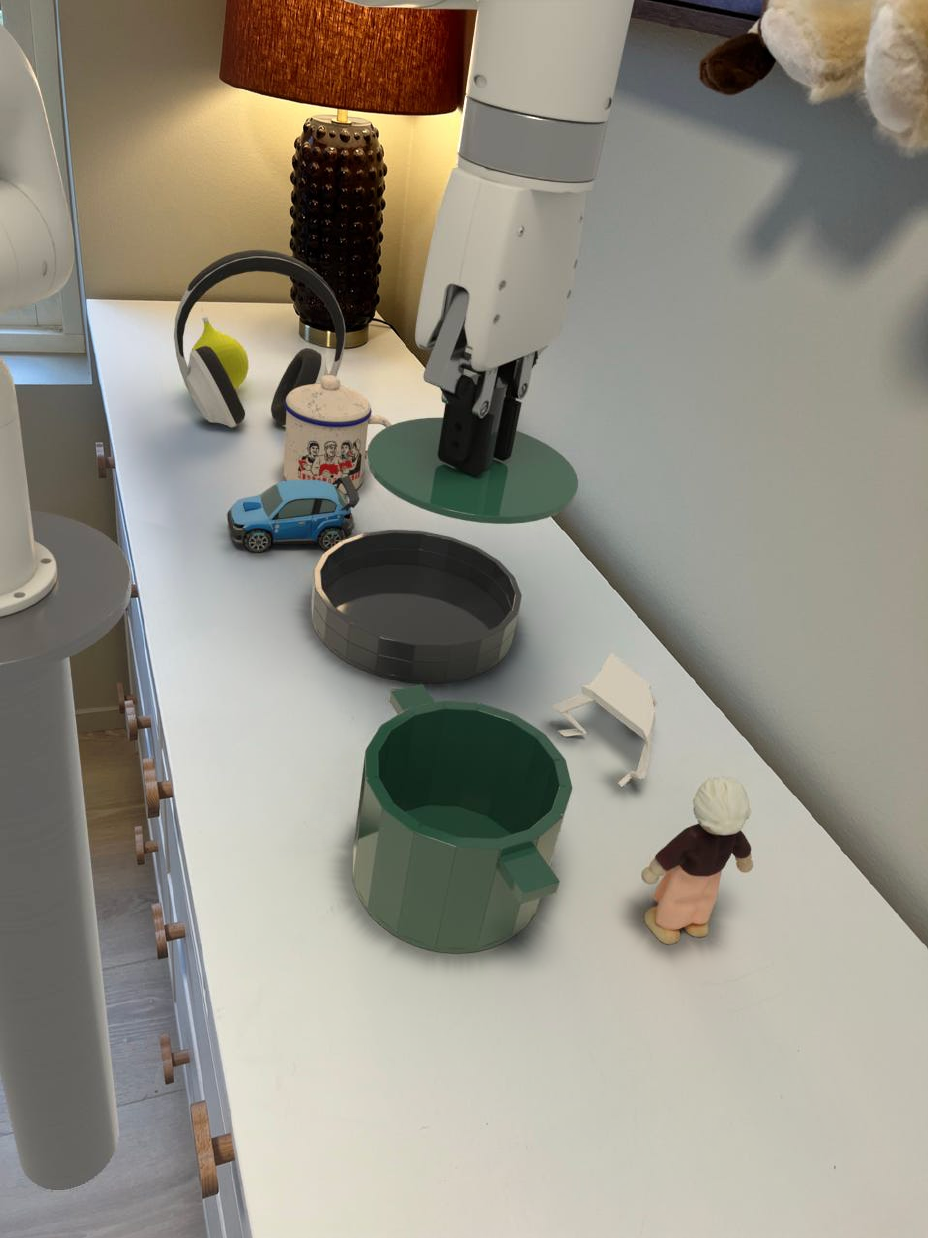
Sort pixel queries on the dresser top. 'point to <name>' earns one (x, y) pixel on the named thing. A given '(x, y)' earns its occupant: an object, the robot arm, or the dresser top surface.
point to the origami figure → (618, 705)
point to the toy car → (294, 514)
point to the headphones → (205, 367)
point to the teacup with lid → (327, 432)
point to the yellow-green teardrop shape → (225, 352)
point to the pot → (457, 822)
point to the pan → (414, 606)
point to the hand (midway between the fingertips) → (474, 457)
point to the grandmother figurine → (699, 861)
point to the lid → (496, 496)
